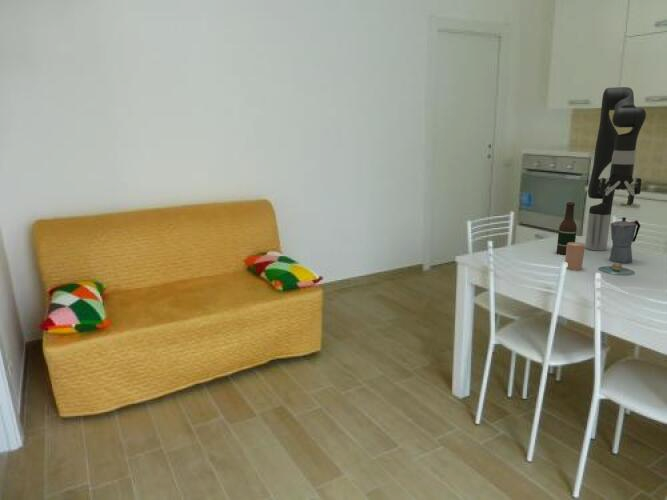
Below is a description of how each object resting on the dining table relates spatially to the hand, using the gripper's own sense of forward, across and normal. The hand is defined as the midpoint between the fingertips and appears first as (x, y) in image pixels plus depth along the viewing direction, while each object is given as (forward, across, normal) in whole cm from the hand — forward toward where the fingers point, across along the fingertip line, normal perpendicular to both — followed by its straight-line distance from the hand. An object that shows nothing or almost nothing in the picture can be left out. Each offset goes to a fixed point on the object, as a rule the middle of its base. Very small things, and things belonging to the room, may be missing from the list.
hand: (617, 205), depth 190 cm
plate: (+28, -4, -3) cm, 29 cm away
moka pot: (+28, -12, -19) cm, 36 cm away
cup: (+28, +12, -6) cm, 31 cm away
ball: (+27, -4, -3) cm, 28 cm away
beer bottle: (+28, +8, -31) cm, 43 cm away
